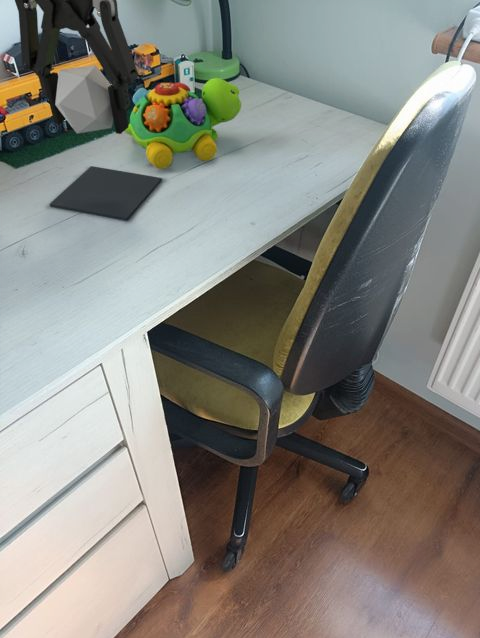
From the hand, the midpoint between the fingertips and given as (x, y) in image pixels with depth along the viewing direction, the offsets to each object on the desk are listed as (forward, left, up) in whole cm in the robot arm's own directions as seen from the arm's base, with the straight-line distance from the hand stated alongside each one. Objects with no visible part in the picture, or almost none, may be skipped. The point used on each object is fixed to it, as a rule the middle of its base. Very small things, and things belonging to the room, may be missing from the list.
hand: (91, 125), depth 79 cm
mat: (-1, +2, -12) cm, 12 cm away
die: (0, 0, 0) cm, 0 cm away
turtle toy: (+5, +22, -12) cm, 26 cm away
